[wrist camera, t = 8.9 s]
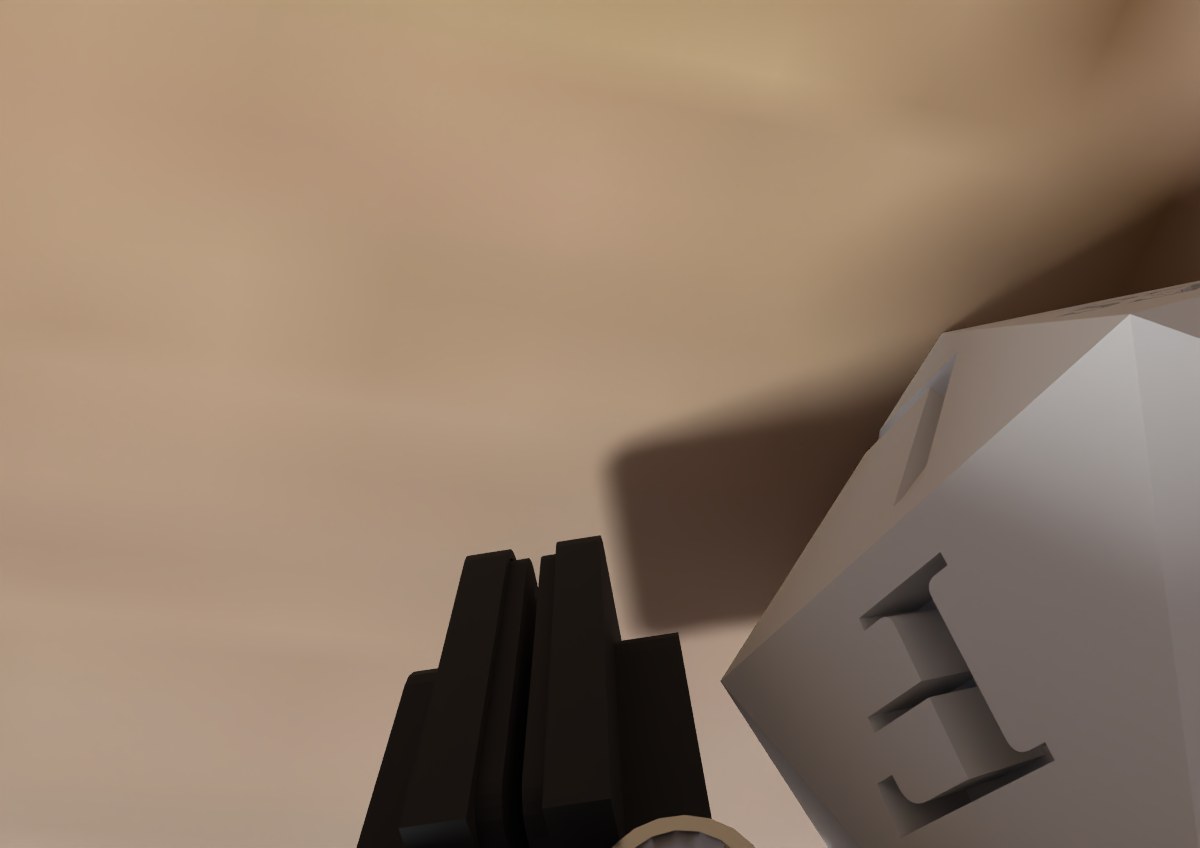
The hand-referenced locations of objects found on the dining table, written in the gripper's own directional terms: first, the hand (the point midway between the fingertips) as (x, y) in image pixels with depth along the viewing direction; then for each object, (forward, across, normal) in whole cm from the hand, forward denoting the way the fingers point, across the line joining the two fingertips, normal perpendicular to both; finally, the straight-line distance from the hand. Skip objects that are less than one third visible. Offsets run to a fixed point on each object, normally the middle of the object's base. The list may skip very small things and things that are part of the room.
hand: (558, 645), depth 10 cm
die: (+2, -7, 0) cm, 7 cm away
